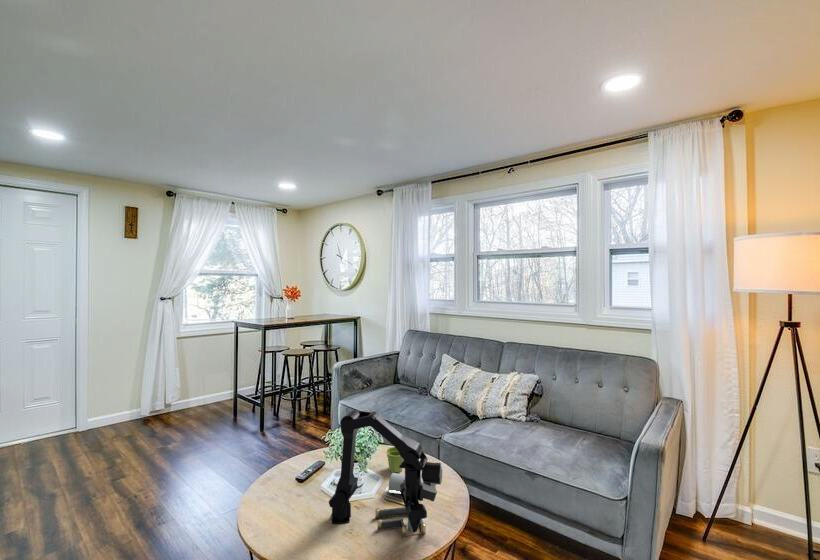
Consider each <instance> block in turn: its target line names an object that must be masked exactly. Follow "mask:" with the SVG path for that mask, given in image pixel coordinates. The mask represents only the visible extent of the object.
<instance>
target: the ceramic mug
mask: <svg viewBox="0 0 820 560" xmlns="http://www.w3.org/2000/svg"><path fill="white" fill-rule="evenodd" d="M404 480H405V474H399V473H397V472H391V474H390V476H389V481H388V491H389V490H396V491H400V485H401V484H402V483H404Z"/></svg>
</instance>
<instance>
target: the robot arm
mask: <svg viewBox="0 0 820 560" xmlns="http://www.w3.org/2000/svg"><path fill="white" fill-rule="evenodd" d="M368 427H371V428H372V429H374V430H375V431H376V432H377V433H378V434H379V435H380V436H382V437H383V439H385V440H386V441H388V442H389V443H390V444H391V445H392V447H395V448H396V449H397V450H398V452H399V454H400V456H401V457H402V458H403V459H404V460H403V461H402V462H401V463H400V465H399V468H402V469H404V475H405V480H404V483H402V484H401V485H400V492H401V495H400V497H401V498H402V502H403V505H404V507H405V508H406V510H407V515H406V516H407V520H408V519H409V522H410V524H411V527H412V529H413V532H417V529H418V526H419V527H420V525H419V523H420V520H421V519H422V520H423V519H426V518H427V517H428V515H427V514H428V511H427V509H426V506H425V505H424V504H423V503H420V502H421V501H422V502H423V501H424V500H428V501H431V502H435V499H436V498H437V497H436V496H437V494H438V492H437V489H436V488H435V486H433V485H431V483H432V484H436V485H439V486H441V485H442V481H443V480H442V479H443V469H442V468H443V467H442V463H441V462H430V461H428V458H429V457H427V455H426V454H425V452H424V450H423V447H422V445H421V444H420V443H419V442H418V441H416V440H414V439H413V438H410V437H407V436H405V435H404V434H402V433H401V432H399V431H398V430H397V429H396V428H395V427H393V426H392V425H391V423H389V422H387V420H385V419H384V418H383V417H382V416H380V415H379V413H378V412H377V411H363V410H362V411H358V410H353V409H352V410H349V412H347V413H346V414H345V415H343V416H342V418H341V419H340V433H341V435H342V437H343V439H342V441H343V443H342V453H341V454H342V456H341V468H340V476H339V479H338V482H337V485H336V488H335V491H334V494H332V497H331V498H330V499H329V500H328V505H329V507H330V508H331V524H332V525H336V524H337V525H338V524H344V523H345V524H346V523H350V522H351V521H350V520H351V519H350V518H351V516H352V506H351V505H352V504H351V502H350V499H351V498H352V497H353V495H354V493H355V492H356V491H357V490H358V488H359V486H358V481H359V477H355V475H354V469H355V468H354V465H355V455H356V440H357V434H358V432H359V430H360V429H362V428H368ZM421 472H422V479H423V483H421ZM419 501H420V502H419Z"/></svg>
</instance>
